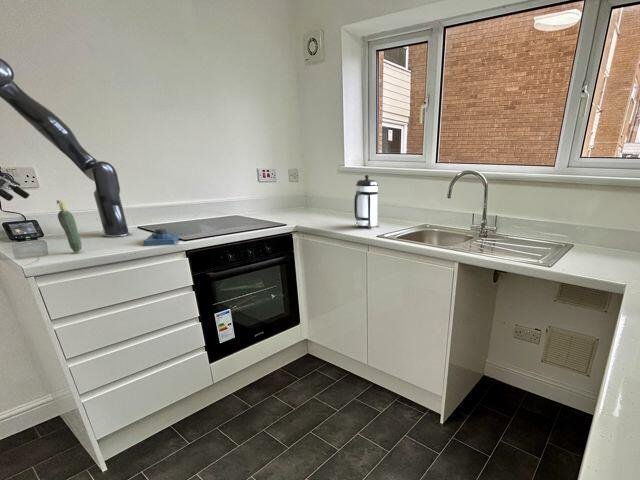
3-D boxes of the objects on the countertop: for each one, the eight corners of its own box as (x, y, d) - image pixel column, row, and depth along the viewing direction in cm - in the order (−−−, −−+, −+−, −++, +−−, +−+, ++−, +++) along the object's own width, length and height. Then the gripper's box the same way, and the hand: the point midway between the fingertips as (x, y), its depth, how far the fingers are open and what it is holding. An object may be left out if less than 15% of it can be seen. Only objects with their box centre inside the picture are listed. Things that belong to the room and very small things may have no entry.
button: (157, 233, 158) (155, 228, 157) (167, 233, 159) (166, 228, 158) (155, 235, 154) (154, 230, 153) (165, 234, 156) (164, 230, 155)
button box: (151, 239, 162) (150, 230, 160) (179, 238, 166) (177, 229, 164) (145, 245, 150) (142, 236, 148) (174, 244, 154) (172, 235, 153)
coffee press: (351, 225, 217) (350, 173, 206) (376, 224, 220) (377, 174, 210) (354, 230, 201) (354, 175, 190) (382, 229, 205) (382, 175, 194)
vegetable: (87, 252, 137) (71, 200, 129) (74, 255, 133) (57, 201, 125) (79, 251, 138) (63, 199, 131) (66, 253, 134) (49, 200, 127)
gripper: (-47, 153, 111) (13, 191, 118) (-13, 154, 123) (39, 188, 131) (-62, 171, 111) (-2, 208, 118) (-26, 169, 124) (26, 203, 131)
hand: (19, 197), depth 124 cm, fingers open, 8 cm apart
